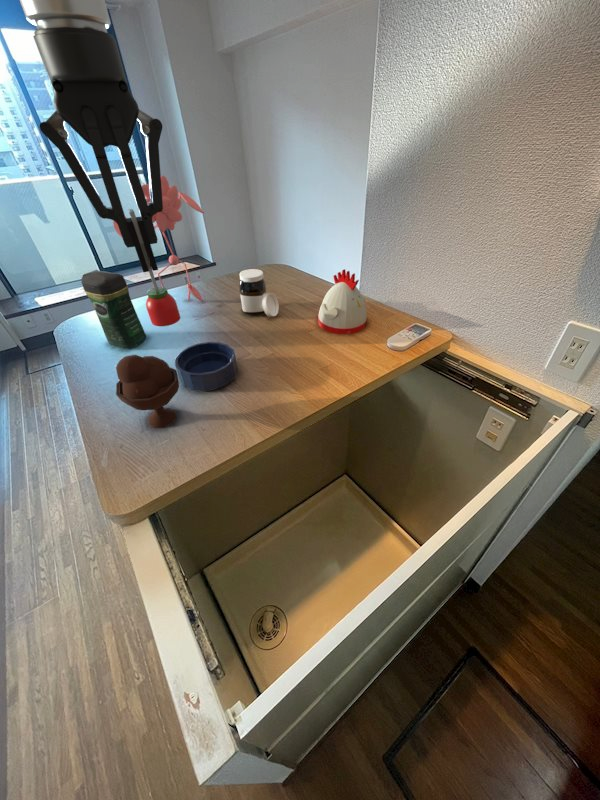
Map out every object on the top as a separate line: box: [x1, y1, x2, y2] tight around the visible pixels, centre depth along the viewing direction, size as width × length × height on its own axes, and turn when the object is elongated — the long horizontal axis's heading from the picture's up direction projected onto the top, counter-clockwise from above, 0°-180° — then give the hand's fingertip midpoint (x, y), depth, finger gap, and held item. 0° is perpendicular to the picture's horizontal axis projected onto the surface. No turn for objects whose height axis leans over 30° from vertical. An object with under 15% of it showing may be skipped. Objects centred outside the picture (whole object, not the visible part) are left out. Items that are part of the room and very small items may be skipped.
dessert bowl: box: [174, 341, 239, 392], centre depth 75 cm, size 13×13×5 cm
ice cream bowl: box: [115, 354, 180, 429], centre depth 61 cm, size 11×11×15 cm
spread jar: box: [238, 268, 280, 318], centre depth 97 cm, size 12×11×12 cm
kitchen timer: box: [317, 268, 368, 335], centre depth 90 cm, size 14×14×15 cm
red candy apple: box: [127, 208, 181, 327], centre depth 49 cm, size 5×5×16 cm
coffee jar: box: [80, 269, 147, 349], centre depth 83 cm, size 10×8×19 cm
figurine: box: [112, 174, 218, 321], centre depth 91 cm, size 15×26×35 cm, turn 147°
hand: (149, 268), depth 48 cm, fingers closed on red candy apple
